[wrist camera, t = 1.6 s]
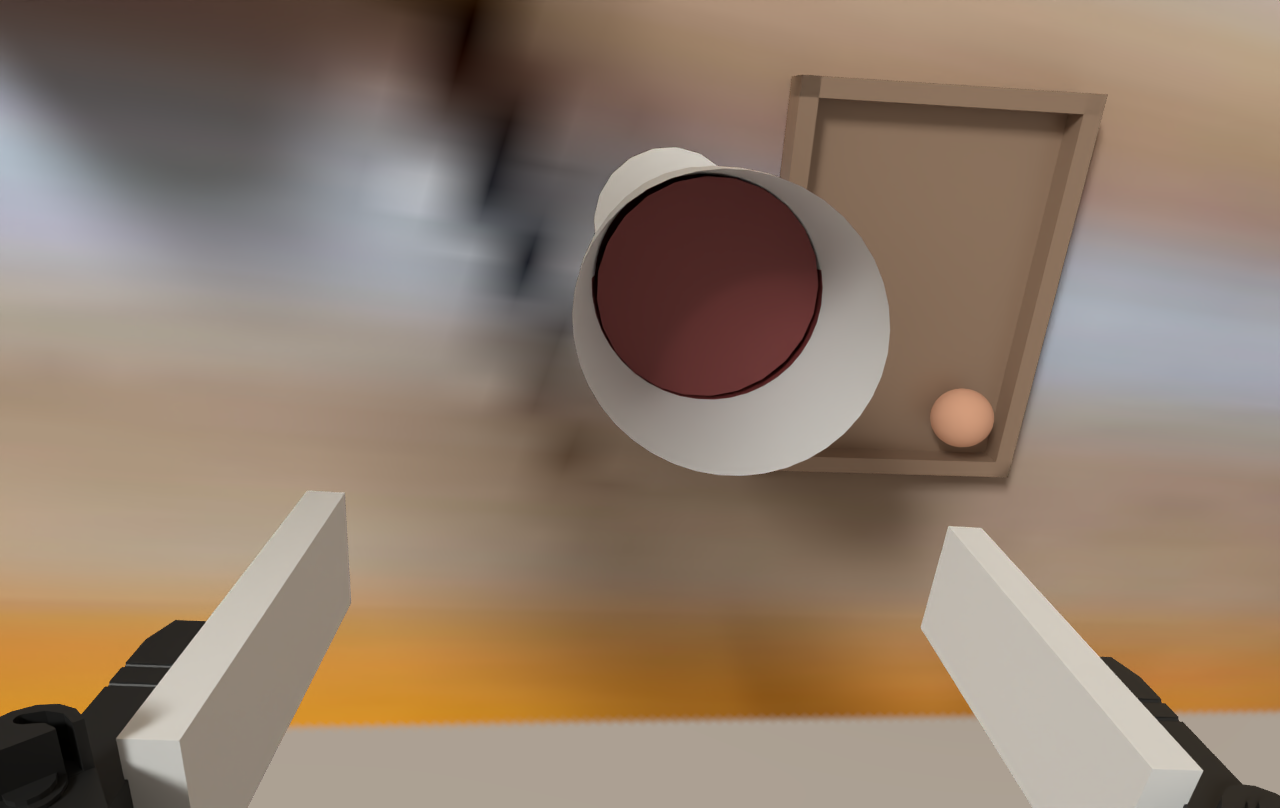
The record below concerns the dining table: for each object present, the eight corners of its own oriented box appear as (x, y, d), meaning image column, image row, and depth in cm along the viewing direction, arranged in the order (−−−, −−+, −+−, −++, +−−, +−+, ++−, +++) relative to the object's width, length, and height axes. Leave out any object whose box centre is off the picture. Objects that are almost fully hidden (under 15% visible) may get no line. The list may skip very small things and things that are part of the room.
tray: (791, 76, 40) (802, 74, 37) (1081, 95, 41) (1107, 94, 39) (746, 454, 48) (753, 470, 45) (990, 461, 49) (1007, 477, 47)
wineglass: (657, 100, 40) (719, 91, 19) (782, 222, 42) (954, 328, 22) (552, 227, 42) (506, 339, 21) (677, 336, 44) (744, 528, 24)
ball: (926, 379, 45) (952, 399, 42) (982, 381, 46) (1012, 402, 42) (915, 432, 47) (939, 456, 43) (970, 433, 47) (997, 458, 44)
